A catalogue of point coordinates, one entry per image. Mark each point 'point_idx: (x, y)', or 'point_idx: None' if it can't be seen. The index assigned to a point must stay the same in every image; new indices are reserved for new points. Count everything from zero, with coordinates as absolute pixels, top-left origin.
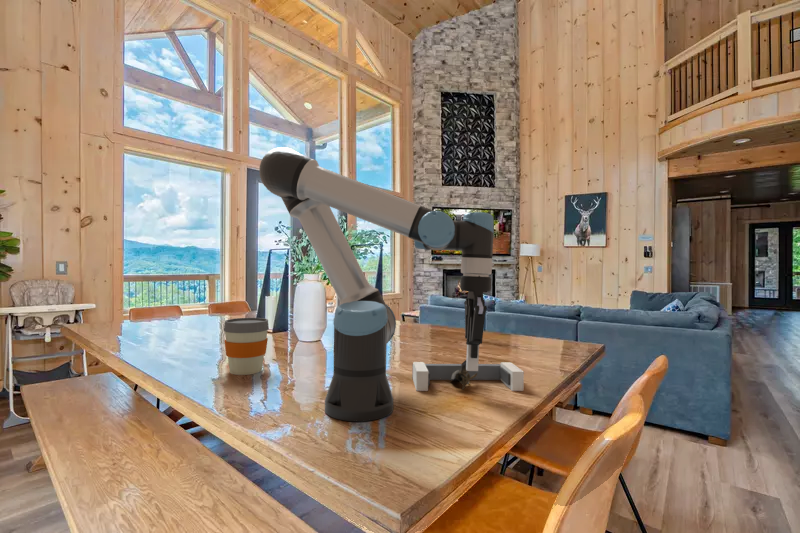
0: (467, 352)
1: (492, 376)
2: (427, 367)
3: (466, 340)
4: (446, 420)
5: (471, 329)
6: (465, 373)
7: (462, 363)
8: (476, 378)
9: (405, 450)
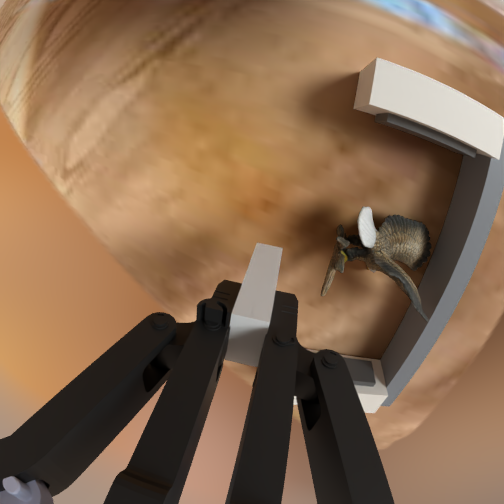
0: (255, 287)
1: (390, 350)
2: (484, 170)
3: (287, 336)
4: (110, 98)
5: (165, 390)
6: (391, 276)
7: (402, 283)
8: (409, 310)
9: (36, 30)
